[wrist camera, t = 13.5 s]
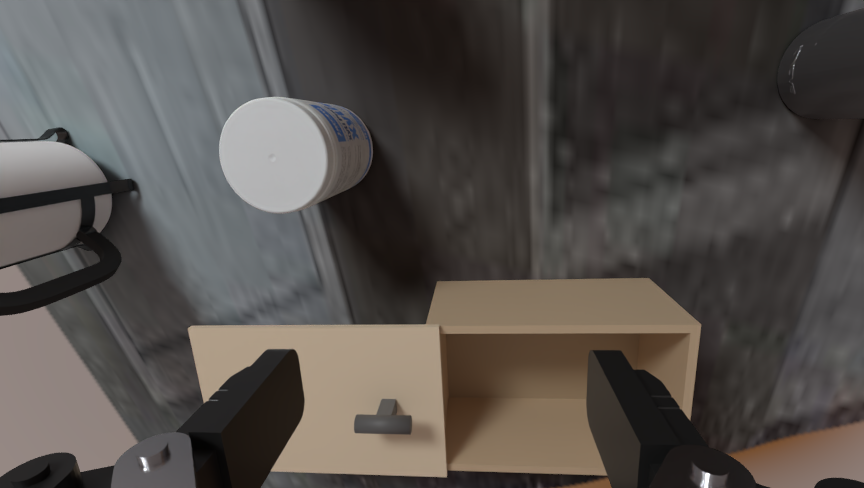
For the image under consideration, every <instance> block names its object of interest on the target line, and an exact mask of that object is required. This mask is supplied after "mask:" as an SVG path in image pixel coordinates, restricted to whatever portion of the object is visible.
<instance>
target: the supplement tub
mask: <svg viewBox="0 0 864 488" xmlns="http://www.w3.org/2000/svg"><path fill="white" fill-rule="evenodd" d="M219 156H220V162H221V166H222V170H223V172H224V175H225V177H226V179H227V181H228V183H229V184H230V186H231V187H232V189H233V190H234V191H235V192H236V193H237V194H238V195H239V196H240V197H241V198H242V199H243V200H244V201H245V202H247V203H248V204H250V205H251V206H253V207H255V208H257V209H260V210H262V211H265V212H269V213H290V212H295V211H300V210H303V209H305V208H308V207H310V206H313V205H315V204H317V203H319V202H321V201H324V200H326V199H328V198H330V197H332V196H334V195H337V194H339V193H341V192H343V191H346V190H348V189H350V188H351V187H353V186H355V185H356V184H358V183H359V182H360V181H361V180H362V179H363V178H364V177H365V175H366V174H367V172H368V170H369V168H370V166H371V162H372V158H373V145H372V139H371V136H370V133H369V131H368V129H367V127H366V126H365V124H364V123H363V121H362V120H361V119H360V118H359V117H358V116H357V115H356V114H355V113H353V112H352V111H350V110H348V109H346V108H344V107H341V106H337V105H332V104H326V103H318V102H312V101H305V100H299V99H292V98H284V97H268V98H259V99H255V100H252V101H249V102H247V103H245V104H243V105H242V106H240V107H239V108H238V109H236V110H235V111H234V112H233V113H232V115H231V116H230V117H229V119H228V120H227V122H226V124H225V126H224V128H223V130H222V134H221V138H220V143H219Z"/></svg>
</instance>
